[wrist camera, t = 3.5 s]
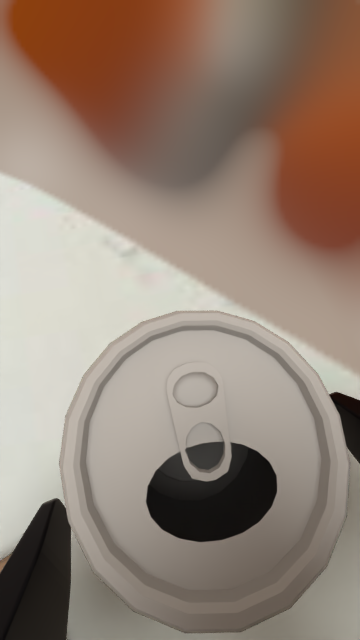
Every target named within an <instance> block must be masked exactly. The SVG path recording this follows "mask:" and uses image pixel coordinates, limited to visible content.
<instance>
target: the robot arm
mask: <svg viewBox="0 0 360 640" xmlns="http://www.w3.org/2000/svg"><path fill="white" fill-rule="evenodd" d="M329 396H330V398H331V399H332V401H333V403H334V405H335V407H336V409H337V411H338V413H339V415H340V419H341V423H342V428H343V432H344V437H345V442H346V446H347V448H348V449H349V450H350V452H351V453H352V454H353V456H354V457H355V458H356V460H357V461H358V462H359V463H360V400H357V399H355V398H352V397H349V396H347V395H344V394H341V393H338V392H334V393H331V394H329ZM70 585H71V526H70V524H69V522H68V517H67V512H66V508H65V507H64V505H63V504H62V502H61V501H60V500H59V499H57V498H55V499H52V500H50V501H47V502H45V503H43V504H42V505H41V507H40V508H39V510H38V512H37V513H36V515H35V516H34V518H33V520H32V521H31V523H30V525H29V526H28V528H27V530H26V531H25V533H24V534H23V536H22V538H21V539H20V541H19V543H18V544H17V546H16V548H15V549H14V551H13V552H12V554H11V556H10V557H9V559H8V561H7V562H6V564H5V566H4V567H3V569H2V570H1V572H0V640H66V633H67V622H68V610H69V599H70Z"/></svg>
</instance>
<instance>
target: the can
mask: <svg viewBox="0 0 360 640" xmlns="http://www.w3.org/2000/svg"><path fill="white" fill-rule="evenodd" d="M59 466H60V473H61V479H62V486H63V492H64V499H65V505H66V512H67V517H68V522H69V524H70V526H71V528H72V530H73V532H74V534H75V536H76V538H77V540H78V542H79V544H80V546H81V548H82V550H83V553H84V555H85V557H86V559H87V561H88V563H89V565H90V567H91V569H92V571H93V572H94V573H95V574H96V575H97V576H98V577H99V578H100V579H101V580H102V581H103V582H104V583H105V584H106V585H107V586H108V587H109V588H110V589H111V590H112V591H113V592H114V593H115V594H116V595H117V596H118V597H119V598H120V599H121V600H122V601H123V602H124V603H125V604H126V605H127V606H128V607H129V608H130V609H131V610H132V611H134V612H136V613H138V614H141V615H143V616H145V617H148V618H150V619H153V620H155V621H157V622H160V623H162V624H164V625H167V626H169V627H172V628H174V629H176V630H179V631H181V632H184V633H221V632H242V631H244V630H246V629H248V628H250V627H252V626H254V625H256V624H258V623H261V622H263V621H265V620H267V619H269V618H271V617H273V616H275V615H277V614H279V613H281V612H284V611H286V610H288V609H290V608H291V607H292V606H293V605H294V603H295V602H296V601H297V600H298V599H299V598H300V597H301V596H302V594H303V593H304V592H305V591H306V590H307V589H308V588H309V587H310V585H311V584H312V583H313V582H314V581H315V580H316V579H317V578H318V576H319V575H320V574H321V573H322V572H323V571H324V570H325V569H326V567H327V565H328V563H329V560H330V558H331V555H332V553H333V550H334V548H335V545H336V543H337V540H338V537H339V535H340V532H341V530H342V527H343V525H344V522H345V520H346V517H347V506H348V491H349V476H350V460H349V455H348V451H347V446H346V442H345V437H344V432H343V428H342V423H341V419H340V415H339V413H338V411H337V409H336V407H335V405H334V403H333V401H332V399H331V398H330V396H329V394H328V392H327V390H326V388H325V386H324V384H323V382H322V380H321V378H320V377H319V375H318V373H317V372H316V371H315V370H314V369H313V368H312V367H311V366H310V365H309V364H308V362H307V361H306V360H305V359H304V358H303V357H302V356H301V355H300V354H299V353H298V352H297V351H296V350H295V348H294V347H293V346H292V345H291V344H290V343H289V342H287V341H286V340H284V339H283V338H281V337H279V336H278V335H276V334H274V333H273V332H271V331H270V330H268V329H266V328H265V327H263V326H262V325H260V324H258V323H257V322H255V321H252V320H249V319H245V318H241V317H238V316H234V315H231V314H227V313H224V312H220V311H175V312H172V313H169V314H166V315H163V316H159V317H156V318H153V319H150V320H146V321H143V322H141V323H139V324H138V325H136V326H135V327H133V328H132V329H130V330H129V331H128V332H126V333H125V334H123V335H122V336H120V337H119V338H117V339H116V340H114V341H113V342H111V343H110V344H109V345H108V346H107V347H106V349H105V350H104V351H103V352H102V353H101V355H100V356H99V357H98V358H97V359H96V361H95V362H94V363H93V364H92V365H91V367H90V368H89V369H88V370H87V371H86V373H85V374H84V375H83V377H82V379H81V382H80V384H79V386H78V389H77V391H76V393H75V395H74V398H73V400H72V402H71V404H70V407H69V409H68V411H67V414H66V416H65V423H64V431H63V438H62V446H61V453H60V461H59Z"/></svg>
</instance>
